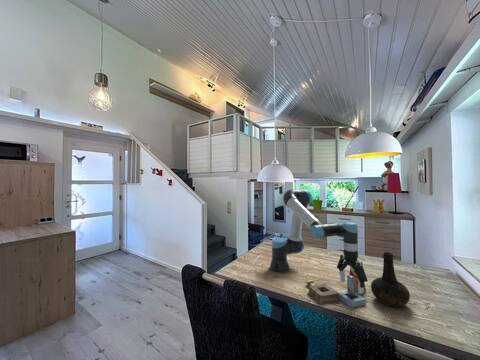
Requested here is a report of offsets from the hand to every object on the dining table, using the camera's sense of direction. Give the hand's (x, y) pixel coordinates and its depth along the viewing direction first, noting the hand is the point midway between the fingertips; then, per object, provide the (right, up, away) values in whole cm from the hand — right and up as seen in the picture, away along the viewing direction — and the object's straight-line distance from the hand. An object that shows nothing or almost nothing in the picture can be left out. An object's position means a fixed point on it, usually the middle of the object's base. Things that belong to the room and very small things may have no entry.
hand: (351, 287), depth 118 cm
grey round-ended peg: (0, -8, 0) cm, 8 cm away
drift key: (-17, -8, +14) cm, 24 cm away
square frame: (0, -8, 0) cm, 8 cm away
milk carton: (+10, -9, +12) cm, 18 cm away
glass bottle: (+21, -8, -2) cm, 23 cm away
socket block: (-14, -8, +5) cm, 17 cm away
